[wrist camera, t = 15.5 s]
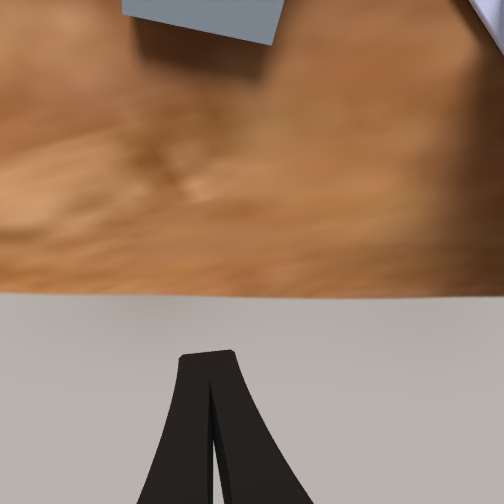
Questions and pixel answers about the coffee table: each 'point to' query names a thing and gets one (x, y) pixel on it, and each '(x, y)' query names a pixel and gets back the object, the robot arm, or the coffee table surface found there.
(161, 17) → the domino
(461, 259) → the coffee table surface
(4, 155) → the coffee table surface
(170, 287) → the coffee table surface
